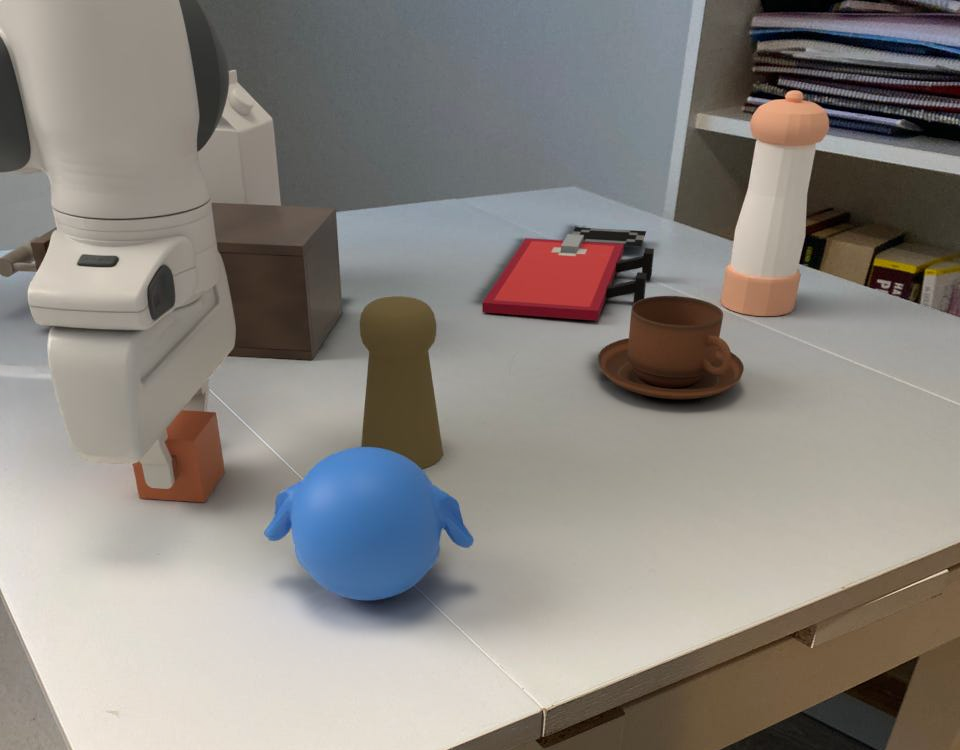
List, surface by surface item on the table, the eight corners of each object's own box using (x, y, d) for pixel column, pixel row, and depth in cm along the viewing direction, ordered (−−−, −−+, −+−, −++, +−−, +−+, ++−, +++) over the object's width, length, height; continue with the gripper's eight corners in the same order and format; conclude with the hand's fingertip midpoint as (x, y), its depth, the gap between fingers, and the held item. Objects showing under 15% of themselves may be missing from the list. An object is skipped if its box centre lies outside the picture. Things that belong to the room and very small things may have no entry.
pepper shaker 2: (760, 321, 98) (801, 100, 86) (705, 301, 102) (737, 88, 91) (809, 308, 101) (854, 93, 90) (753, 289, 106) (790, 82, 95)
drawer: (-3, 330, 90) (-27, 239, 85) (54, 290, 99) (34, 206, 94) (199, 341, 88) (186, 249, 84) (238, 300, 98) (227, 215, 93)
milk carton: (194, 288, 103) (162, 77, 92) (228, 268, 108) (202, 67, 97) (257, 296, 101) (233, 82, 90) (288, 275, 107) (269, 72, 95)
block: (139, 498, 67) (126, 436, 65) (163, 468, 71) (151, 408, 68) (204, 502, 67) (194, 440, 64) (225, 472, 71) (216, 411, 68)
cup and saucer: (761, 377, 86) (775, 305, 83) (703, 425, 78) (716, 348, 75) (636, 347, 92) (644, 278, 88) (570, 388, 84) (575, 314, 80)
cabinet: (149, 351, 89) (128, 238, 83) (196, 305, 99) (180, 201, 93) (312, 360, 88) (302, 246, 82) (342, 312, 98) (335, 208, 92)
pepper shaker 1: (422, 477, 70) (420, 321, 64) (345, 462, 72) (335, 308, 66) (455, 443, 75) (456, 294, 68) (382, 429, 77) (376, 282, 70)
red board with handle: (661, 240, 119) (536, 233, 122) (664, 215, 117) (537, 208, 120) (636, 328, 96) (482, 317, 98) (639, 298, 94) (482, 288, 97)
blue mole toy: (477, 524, 65) (480, 402, 60) (469, 632, 56) (471, 497, 51) (294, 518, 66) (281, 395, 61) (254, 624, 56) (234, 489, 51)
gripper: (153, 206, 68) (185, 399, 77) (9, 304, 52) (70, 536, 60) (244, 211, 68) (266, 404, 76) (128, 310, 52) (172, 543, 60)
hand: (178, 463), depth 68 cm, fingers closed on block, 4 cm apart
